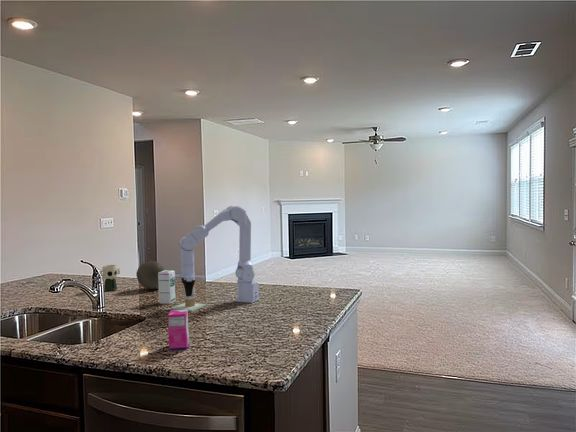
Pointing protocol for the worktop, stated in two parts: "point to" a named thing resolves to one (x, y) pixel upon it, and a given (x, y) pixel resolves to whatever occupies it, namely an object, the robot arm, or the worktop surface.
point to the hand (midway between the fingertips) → (188, 295)
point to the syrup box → (167, 287)
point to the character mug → (110, 276)
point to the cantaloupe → (149, 274)
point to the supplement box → (178, 329)
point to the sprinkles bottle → (190, 297)
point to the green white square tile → (192, 308)
